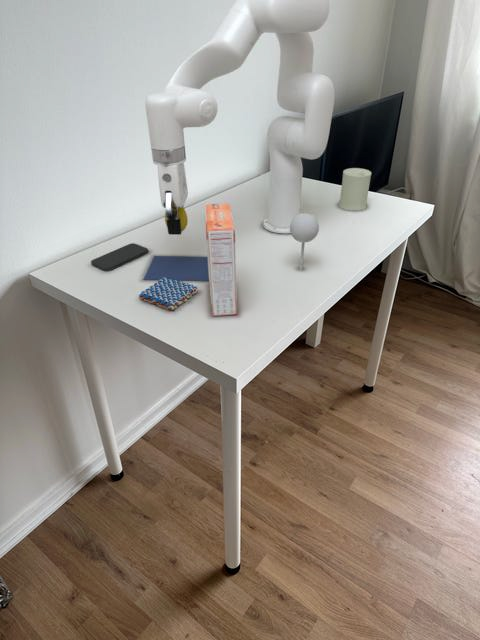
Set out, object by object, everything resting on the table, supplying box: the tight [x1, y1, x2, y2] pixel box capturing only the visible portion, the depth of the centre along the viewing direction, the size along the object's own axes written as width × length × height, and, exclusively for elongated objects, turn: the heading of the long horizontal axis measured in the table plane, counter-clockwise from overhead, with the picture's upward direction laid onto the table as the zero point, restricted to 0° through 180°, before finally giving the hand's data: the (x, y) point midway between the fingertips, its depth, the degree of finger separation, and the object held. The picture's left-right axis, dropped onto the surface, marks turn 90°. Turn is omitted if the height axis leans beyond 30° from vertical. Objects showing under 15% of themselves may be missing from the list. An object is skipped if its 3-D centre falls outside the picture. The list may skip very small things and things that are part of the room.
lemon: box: [164, 204, 189, 232], centre depth 111 cm, size 6×6×8 cm
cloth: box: [142, 255, 209, 282], centre depth 118 cm, size 18×13×1 cm
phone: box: [90, 243, 149, 272], centre depth 123 cm, size 7×1×15 cm
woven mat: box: [138, 276, 198, 311], centre depth 107 cm, size 10×11×2 cm
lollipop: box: [290, 212, 320, 270], centre depth 113 cm, size 7×7×15 cm
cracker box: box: [204, 203, 238, 317], centre depth 100 cm, size 14×6×21 cm, turn 5°
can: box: [338, 167, 372, 212], centre depth 151 cm, size 9×9×12 cm
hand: (177, 227), depth 112 cm, fingers closed on lemon, 5 cm apart
